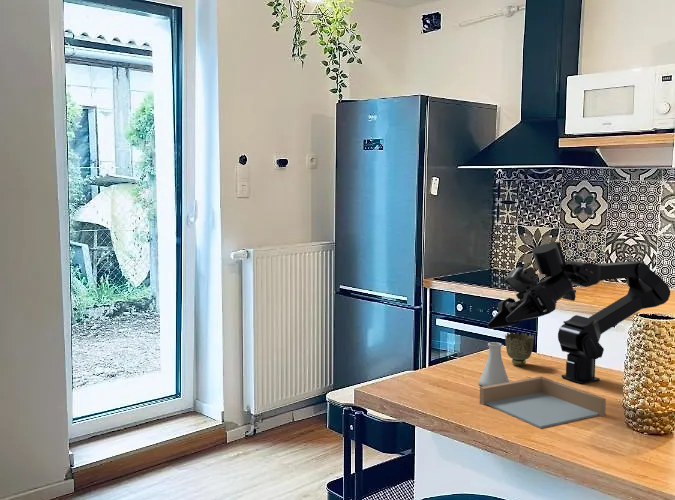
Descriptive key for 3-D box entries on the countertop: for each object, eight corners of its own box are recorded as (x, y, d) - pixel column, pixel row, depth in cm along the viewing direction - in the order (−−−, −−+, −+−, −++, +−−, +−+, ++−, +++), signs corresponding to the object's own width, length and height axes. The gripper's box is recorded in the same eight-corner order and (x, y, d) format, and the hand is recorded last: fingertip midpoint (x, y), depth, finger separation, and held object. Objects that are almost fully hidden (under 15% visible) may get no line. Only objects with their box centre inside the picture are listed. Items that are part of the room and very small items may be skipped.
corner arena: (540, 391, 147) (541, 376, 147) (605, 415, 132) (605, 398, 131) (479, 402, 139) (480, 387, 139) (540, 429, 123) (540, 412, 123)
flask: (472, 385, 152) (473, 343, 151) (488, 378, 157) (489, 338, 156) (500, 391, 147) (501, 348, 146) (515, 385, 152) (516, 343, 152)
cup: (528, 370, 165) (529, 339, 164) (500, 365, 169) (501, 335, 168) (536, 363, 171) (537, 334, 171) (509, 359, 175) (510, 330, 175)
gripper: (511, 271, 161) (462, 300, 156) (550, 252, 143) (497, 283, 138) (534, 310, 159) (486, 340, 154) (577, 295, 142) (525, 329, 137)
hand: (497, 323), depth 146 cm, fingers open, 9 cm apart
